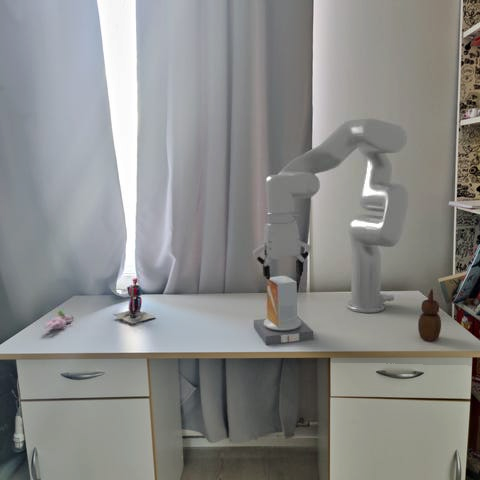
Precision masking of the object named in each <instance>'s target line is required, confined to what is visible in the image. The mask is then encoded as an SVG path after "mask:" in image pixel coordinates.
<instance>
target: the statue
mask: <svg viewBox="0 0 480 480" xmlns="http://www.w3.org/2000/svg"><path fill="white" fill-rule="evenodd" d="M132 283H133V284H131V285H129V286H127V287H126V288H127V294H128V295H129V297H130V298H129V301H128V310H127V311H124V312H118V313H113V314H112V316H114V317H116V318H117V319H119V320H120V322H122V321H123V323H124V324H128V325H129V326H137V323H146V322H147V320H150V319H151V320H152V319H153V320H155V319H156V316H155V315H152V314H150V313H148V312H146V311H144V310H143V311H141V309H142V297H141V295H142V286H141V285H138V284H137V283H138V278H137V277H134V278H133V279H132Z"/></svg>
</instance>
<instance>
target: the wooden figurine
mask: <svg viewBox="0 0 480 480" xmlns="http://www.w3.org/2000/svg"><path fill="white" fill-rule="evenodd" d="M420 307H421V311H422V313H421V314H420V315H419V318H418V321H417V322H418V324H417V328H418V334H419V337H420V339H422V340H423V341H427V342H435V341H436V340H439V338H440V337H439V336H440V333H441V330H442V320H441V316H440V314H438V313H439V312H440V303H439V302H438V301H437V300H435V299H434V289H433V288H432V289H431V288H430V291H429V293H428V297H427V299H425V300H423V301H422V303H421V306H420Z"/></svg>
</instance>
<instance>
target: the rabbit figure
mask: <svg viewBox="0 0 480 480" xmlns="http://www.w3.org/2000/svg"><path fill="white" fill-rule="evenodd" d="M57 315H58V316H57V317H54V318H51V319H50V321H48V322H45V323H44V325H43V327H44V329H47V328H48V329H55V330H61V329H62V328H65V326H66V325H67V324H70V323H71V322H72V321H73V320H75V319H74V315H70V316H69V315H65V313H64V312H63V310H62V309H59V310H58V312H57ZM59 316H60V317H59Z"/></svg>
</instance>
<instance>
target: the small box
mask: <svg viewBox="0 0 480 480" xmlns="http://www.w3.org/2000/svg"><path fill="white" fill-rule="evenodd" d="M297 283H298V282H297V281H296V280H294V279H293V278H291V277H289V276H287V275H278V276H272V277H271V276H270V279H269V280H268V279H267V278H266V307H267V308H266V309H267V310H266V312H267V314H266V315H267V316H266V317H267V318H266V319H268V320H270V321H271V322H272V323H273V324H275V325H276V326H277V327H278V328H280V327H285V326H292V325H297V316H298V286H297V285H298V284H297Z"/></svg>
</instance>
